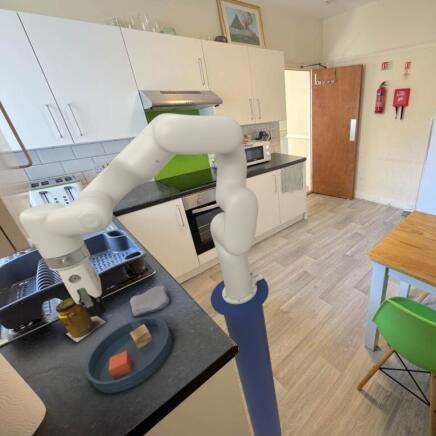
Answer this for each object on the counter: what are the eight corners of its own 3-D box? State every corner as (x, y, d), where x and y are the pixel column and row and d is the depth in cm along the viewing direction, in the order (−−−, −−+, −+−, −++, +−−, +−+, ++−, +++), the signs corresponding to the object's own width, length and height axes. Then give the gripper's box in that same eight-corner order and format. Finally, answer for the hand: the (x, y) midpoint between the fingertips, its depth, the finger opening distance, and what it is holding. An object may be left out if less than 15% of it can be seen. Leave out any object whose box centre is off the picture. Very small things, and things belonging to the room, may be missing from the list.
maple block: (147, 332, 76) (143, 323, 74) (152, 339, 73) (148, 330, 71) (134, 341, 73) (129, 332, 71) (138, 349, 71) (134, 340, 69)
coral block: (131, 359, 68) (126, 350, 66) (131, 371, 65) (126, 362, 63) (115, 366, 66) (109, 357, 64) (114, 379, 63) (108, 370, 61)
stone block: (173, 307, 88) (165, 288, 94) (169, 299, 85) (161, 281, 91) (136, 325, 82) (131, 304, 88) (131, 318, 79) (126, 297, 85)
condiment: (66, 334, 77) (47, 307, 72) (95, 315, 84) (79, 289, 79) (77, 342, 74) (58, 315, 69) (106, 322, 81) (91, 296, 76)
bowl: (163, 315, 82) (159, 307, 80) (180, 358, 68) (176, 349, 66) (91, 351, 71) (85, 343, 69) (93, 411, 57) (86, 402, 55)
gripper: (88, 263, 52) (119, 322, 60) (87, 237, 63) (113, 290, 71) (42, 278, 48) (81, 339, 56) (49, 248, 58) (81, 303, 67)
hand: (99, 312), depth 63 cm, fingers closed
